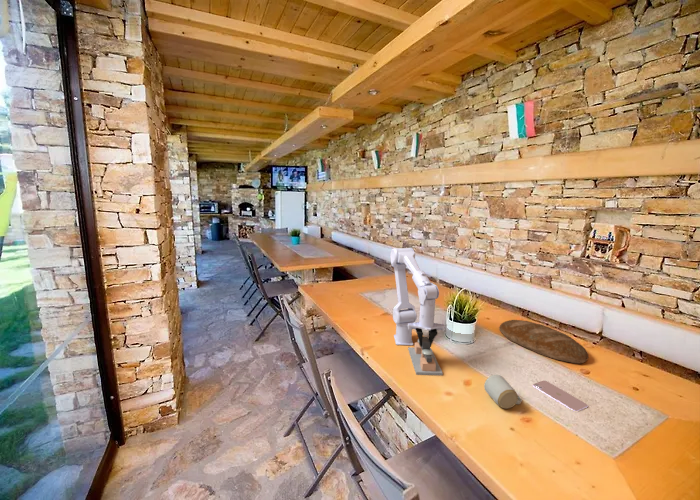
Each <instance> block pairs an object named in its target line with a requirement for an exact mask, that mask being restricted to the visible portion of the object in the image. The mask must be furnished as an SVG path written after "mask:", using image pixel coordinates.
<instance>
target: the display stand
mask: <svg viewBox="0 0 700 500" xmlns="http://www.w3.org/2000/svg"><path fill="white" fill-rule="evenodd" d="M413 346H414V347H412V346H411V347H409V346H408V348H407V351H408V353H409V356H410V359H411V363H412V366H413V369H414V371H415V375H417V376H419V375H420V376H443V374H444V373H443V370H442V368H441V367H440V364H439V363H438V360H437V358H436V355H435V354H434V351H433V350H432V347H430V350H431V351H432V352H433V354H432V355H431V357H432V362H427V361H426V359H425V356H424V354H423V353H422V348H421V347H420V345H419V343H418V341H416V342H414V345H413Z"/></svg>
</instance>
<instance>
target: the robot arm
mask: <svg viewBox="0 0 700 500" xmlns="http://www.w3.org/2000/svg"><path fill="white" fill-rule="evenodd" d="M389 256H390V263H391V267H393V272H394V278H395V286H396V294H397V295H396V296H397V303H396V305H395V306H394V307H393V309H392V311H393V312H392V320H393V322H394V323H395V324H396V325H395V334H393V338H394V342H395V345H396V346H414V343H413V339H412V335H413V330H415V331H416V334H417V338H418V339H419V345H420V347H422V337H424V332H423V330H426V331H428V338H429V340H430V348H432V345H433V341H434V339H435V338H436V337H437V335H438V330H439V331H445V330H446V325H445V324H444V323H436V322H435V310H436V299H439V296H440V290H439V288H438V285H436V284H434V283H433V282H431V280H430V279H429V277H428V275H427V274H426V272H425V271H423V270H421V269H420V267H419V264H418V263H417V260H416V252H415V250H414V248H413V247H399V248H397V247H396V248H395V247H394V248H392V249H391V251H390V255H389ZM406 268H408V270H409V271H410V273H411V274H412V277H411V280H412V281H413V283H414V284H415V286H416V288H417V295H418V303H419V304H420V305H419V318H418V314H417V311H416V308H415V306H414V304H412V303H411V302H410V298H409V291H408V283H407V272H406ZM417 318H418V319H419V320H418V321H417ZM416 321H417V322H416ZM418 339H417V340H418Z"/></svg>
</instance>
